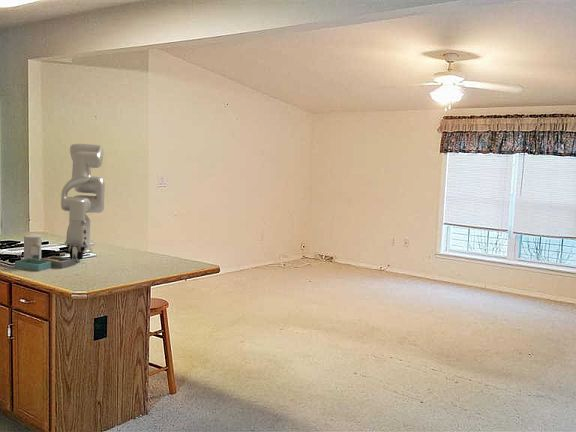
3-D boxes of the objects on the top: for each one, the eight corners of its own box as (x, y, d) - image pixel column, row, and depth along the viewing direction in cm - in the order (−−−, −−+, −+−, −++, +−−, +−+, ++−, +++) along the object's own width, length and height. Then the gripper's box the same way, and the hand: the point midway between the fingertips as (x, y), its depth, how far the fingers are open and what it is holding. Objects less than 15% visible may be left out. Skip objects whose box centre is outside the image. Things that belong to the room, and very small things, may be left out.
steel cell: (75, 261, 286) (75, 244, 285) (81, 262, 285) (82, 244, 284) (70, 262, 282) (70, 245, 281) (76, 263, 281) (77, 246, 280)
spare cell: (34, 261, 279) (35, 243, 278) (41, 262, 278) (41, 244, 277) (28, 262, 275) (29, 245, 274) (35, 263, 274) (35, 246, 273)
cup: (28, 261, 279) (29, 237, 277) (20, 258, 284) (20, 235, 282) (44, 259, 285) (44, 236, 284) (36, 256, 290) (36, 234, 289)
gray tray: (54, 261, 282) (54, 255, 281) (75, 264, 278) (75, 258, 278) (39, 265, 272) (39, 258, 272) (61, 268, 268) (61, 261, 268)
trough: (28, 264, 272) (28, 258, 272) (51, 267, 268) (51, 261, 268) (15, 267, 264) (15, 261, 264) (38, 271, 260) (38, 265, 260)
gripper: (95, 224, 282) (94, 259, 285) (68, 220, 287) (67, 255, 289) (86, 225, 275) (85, 261, 277) (58, 222, 280) (57, 257, 282)
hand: (76, 258), depth 283 cm, fingers closed on steel cell, 4 cm apart
